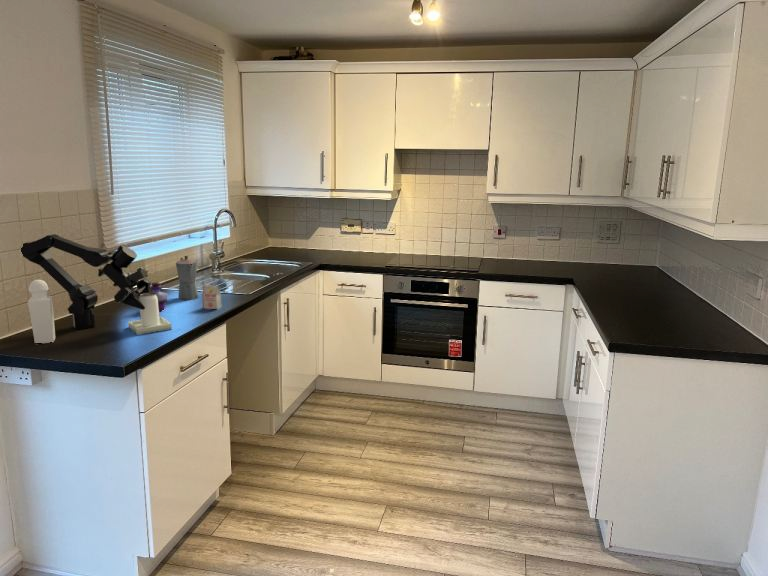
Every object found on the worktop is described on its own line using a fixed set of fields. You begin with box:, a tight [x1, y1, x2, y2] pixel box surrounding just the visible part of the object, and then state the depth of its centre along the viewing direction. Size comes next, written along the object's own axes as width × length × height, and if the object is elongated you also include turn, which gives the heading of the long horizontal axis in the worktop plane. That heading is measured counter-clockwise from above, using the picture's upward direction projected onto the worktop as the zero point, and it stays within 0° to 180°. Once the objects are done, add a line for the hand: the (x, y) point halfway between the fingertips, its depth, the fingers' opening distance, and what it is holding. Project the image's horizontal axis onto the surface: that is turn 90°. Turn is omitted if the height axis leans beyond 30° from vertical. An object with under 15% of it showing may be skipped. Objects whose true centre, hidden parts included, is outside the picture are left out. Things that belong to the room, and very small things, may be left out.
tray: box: [128, 316, 173, 336], centre depth 215 cm, size 12×12×2 cm
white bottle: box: [27, 279, 56, 344], centre depth 196 cm, size 6×6×22 cm
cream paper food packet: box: [201, 284, 223, 310], centre depth 244 cm, size 4×7×10 cm, turn 75°
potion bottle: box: [150, 281, 169, 313], centre depth 240 cm, size 9×9×12 cm
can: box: [138, 292, 160, 327], centre depth 214 cm, size 6×6×12 cm
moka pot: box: [175, 255, 200, 301], centre depth 262 cm, size 10×15×20 cm, turn 41°
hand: (150, 305), depth 213 cm, fingers open, 9 cm apart
